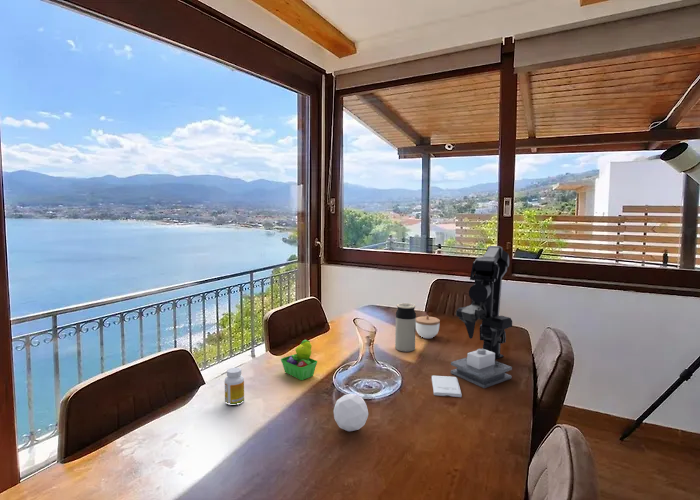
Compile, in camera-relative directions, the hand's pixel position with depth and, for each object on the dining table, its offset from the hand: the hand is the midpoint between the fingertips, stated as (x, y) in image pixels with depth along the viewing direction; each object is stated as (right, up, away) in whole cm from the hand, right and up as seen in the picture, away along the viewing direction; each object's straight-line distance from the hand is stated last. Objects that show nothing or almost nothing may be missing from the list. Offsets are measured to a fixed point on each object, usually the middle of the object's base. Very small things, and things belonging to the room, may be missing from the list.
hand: (481, 342), depth 135 cm
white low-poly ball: (-43, -15, -31) cm, 55 cm away
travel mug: (-22, -9, +27) cm, 36 cm away
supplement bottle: (-78, -13, -19) cm, 81 cm away
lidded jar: (-10, -8, +44) cm, 45 cm away
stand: (0, -12, +1) cm, 12 cm away
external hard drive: (-14, -13, -8) cm, 21 cm away
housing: (0, -8, +1) cm, 8 cm away
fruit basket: (-61, -12, +2) cm, 62 cm away
